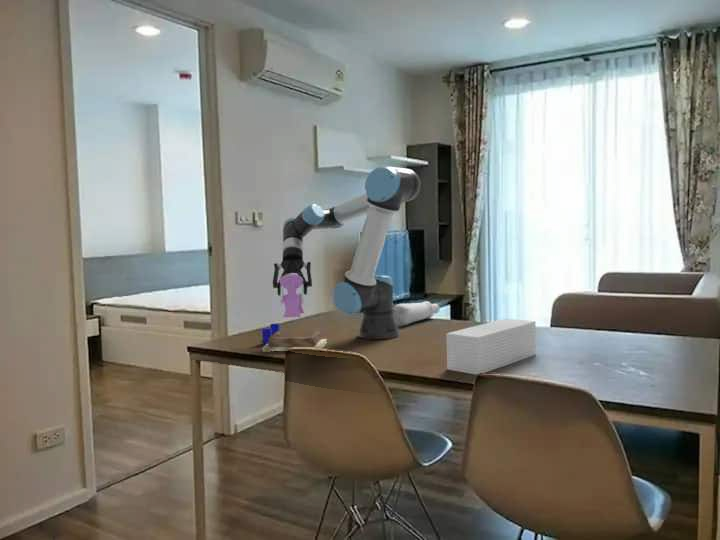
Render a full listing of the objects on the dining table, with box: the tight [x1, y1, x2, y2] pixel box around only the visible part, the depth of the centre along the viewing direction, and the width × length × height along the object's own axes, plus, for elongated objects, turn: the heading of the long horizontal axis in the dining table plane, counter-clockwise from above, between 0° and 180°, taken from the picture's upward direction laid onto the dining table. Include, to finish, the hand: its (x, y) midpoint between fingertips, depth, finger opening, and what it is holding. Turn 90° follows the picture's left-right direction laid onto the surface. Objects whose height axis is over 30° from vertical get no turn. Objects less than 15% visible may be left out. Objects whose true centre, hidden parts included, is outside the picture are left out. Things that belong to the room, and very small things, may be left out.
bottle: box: [393, 300, 440, 327], centre depth 267 cm, size 9×9×30 cm
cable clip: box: [261, 323, 281, 346], centre depth 232 cm, size 12×4×6 cm, turn 172°
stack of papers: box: [446, 318, 537, 375], centre depth 188 cm, size 32×11×11 cm, turn 136°
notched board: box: [262, 330, 328, 353], centre depth 219 cm, size 20×14×4 cm
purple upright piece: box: [279, 273, 305, 318], centre depth 223 cm, size 8×9×15 cm
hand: (292, 301), depth 219 cm, fingers closed on purple upright piece, 7 cm apart
